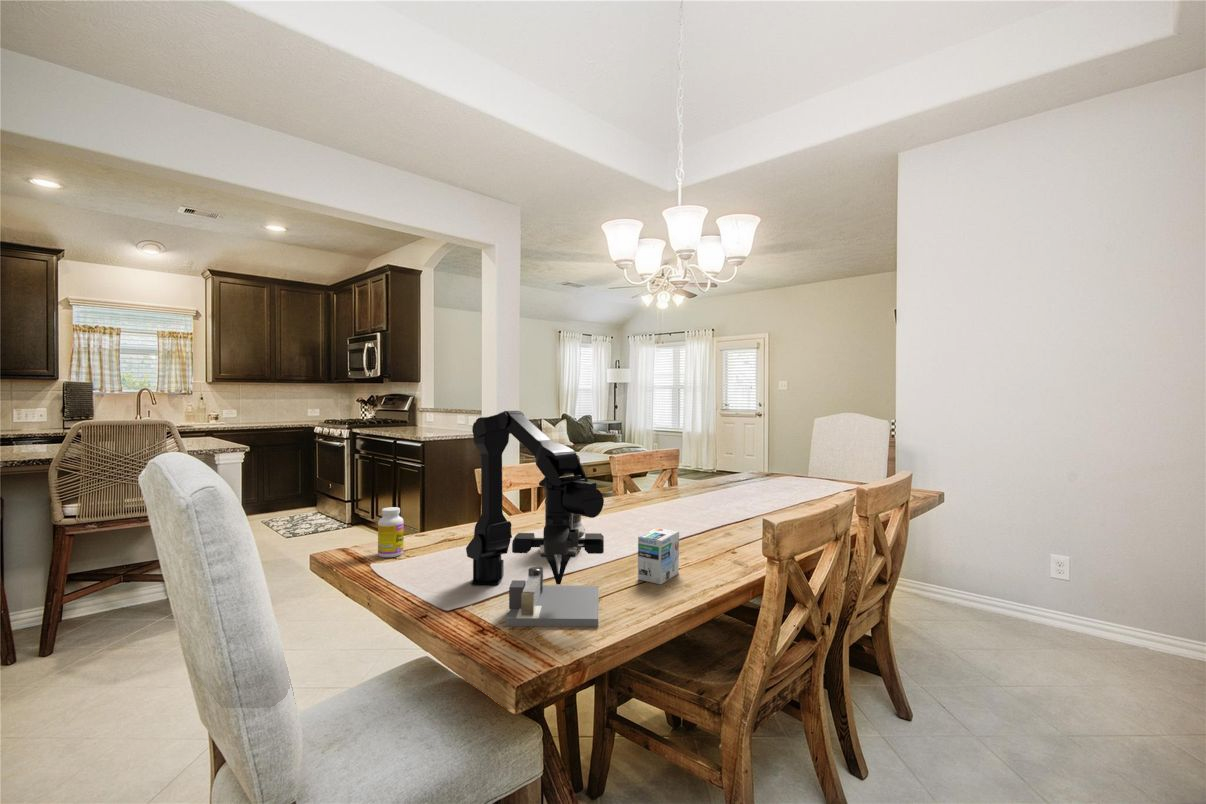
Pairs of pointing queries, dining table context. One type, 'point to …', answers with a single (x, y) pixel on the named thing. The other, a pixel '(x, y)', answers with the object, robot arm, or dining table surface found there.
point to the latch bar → (532, 590)
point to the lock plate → (556, 606)
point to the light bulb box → (658, 555)
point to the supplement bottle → (390, 533)
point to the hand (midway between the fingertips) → (558, 583)
